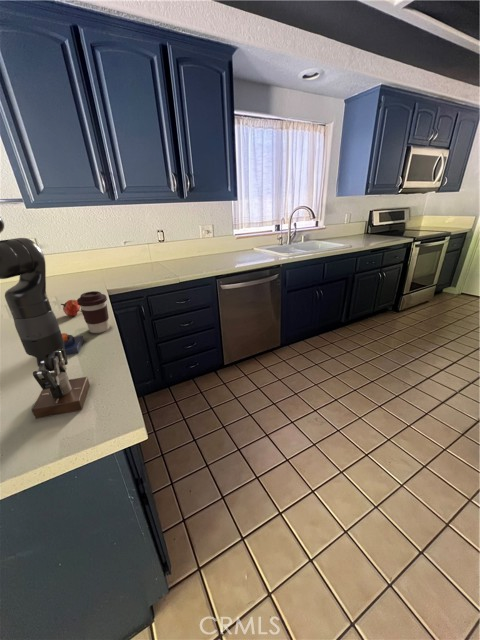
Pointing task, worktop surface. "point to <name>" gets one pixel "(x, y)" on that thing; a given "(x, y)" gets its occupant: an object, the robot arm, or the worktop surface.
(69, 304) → the pomegranate
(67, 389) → the dial
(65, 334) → the button
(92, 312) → the coffee cup
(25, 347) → the robot arm
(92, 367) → the worktop surface
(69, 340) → the button box
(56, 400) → the panel
